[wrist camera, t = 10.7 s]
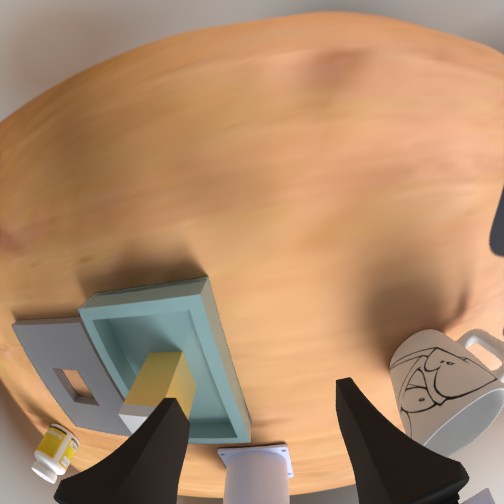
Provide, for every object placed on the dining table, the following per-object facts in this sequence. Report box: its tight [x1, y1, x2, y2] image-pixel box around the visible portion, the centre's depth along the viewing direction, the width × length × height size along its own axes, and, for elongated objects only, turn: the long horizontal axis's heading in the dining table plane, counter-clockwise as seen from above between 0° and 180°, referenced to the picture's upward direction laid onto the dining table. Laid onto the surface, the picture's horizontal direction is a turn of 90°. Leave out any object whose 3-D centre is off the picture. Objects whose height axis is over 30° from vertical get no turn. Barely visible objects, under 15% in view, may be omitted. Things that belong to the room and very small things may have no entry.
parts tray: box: [78, 276, 252, 444], centre depth 21 cm, size 16×10×3 cm, turn 11°
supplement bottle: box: [32, 424, 79, 484], centre depth 24 cm, size 5×5×10 cm
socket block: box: [11, 316, 132, 436], centre depth 23 cm, size 16×12×1 cm
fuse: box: [118, 351, 197, 434], centre depth 18 cm, size 4×3×7 cm
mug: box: [389, 329, 504, 457], centre depth 16 cm, size 11×8×10 cm
